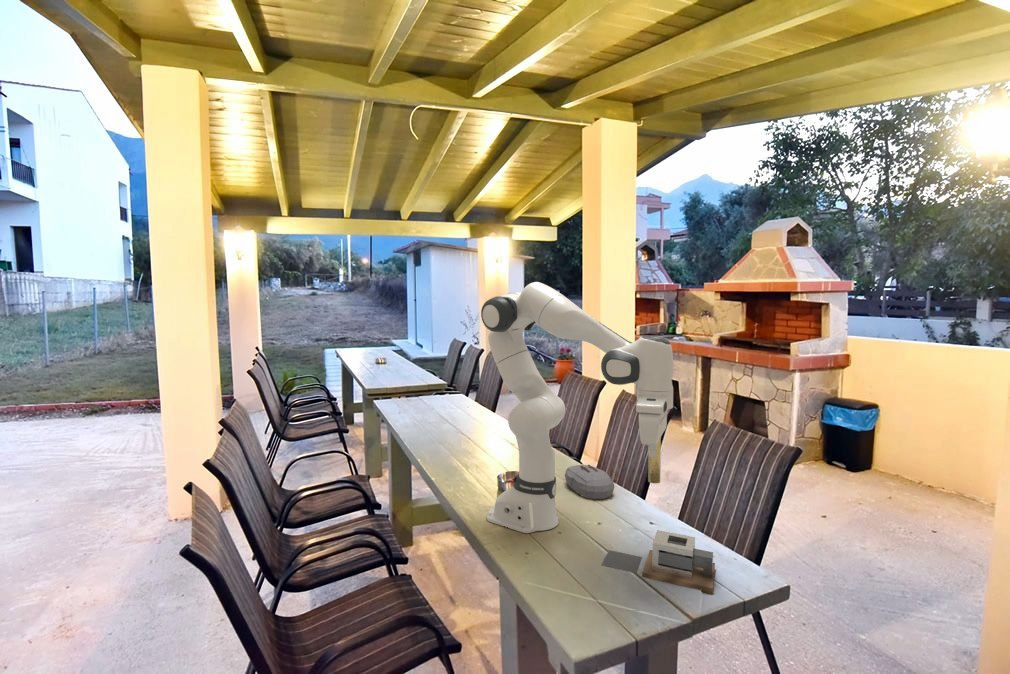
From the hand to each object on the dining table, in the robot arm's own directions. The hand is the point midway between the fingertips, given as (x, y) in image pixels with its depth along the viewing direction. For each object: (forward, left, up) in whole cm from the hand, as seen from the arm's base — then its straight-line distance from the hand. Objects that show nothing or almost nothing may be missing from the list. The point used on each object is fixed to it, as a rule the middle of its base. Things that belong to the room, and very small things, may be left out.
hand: (654, 454), depth 133 cm
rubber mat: (-7, 0, -30) cm, 31 cm away
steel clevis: (+8, +1, -29) cm, 30 cm away
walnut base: (+6, +1, -30) cm, 31 cm away
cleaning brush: (-28, +47, -31) cm, 63 cm away
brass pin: (0, 0, -7) cm, 7 cm away
